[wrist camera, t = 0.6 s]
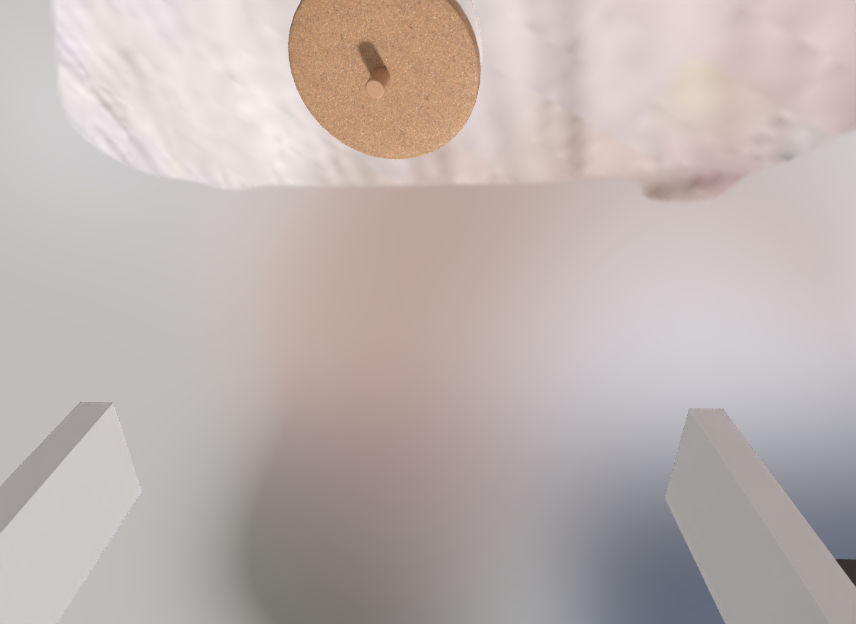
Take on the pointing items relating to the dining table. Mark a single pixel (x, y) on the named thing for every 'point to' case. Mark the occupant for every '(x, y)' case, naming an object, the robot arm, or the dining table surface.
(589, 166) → the dining table surface
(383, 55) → the lidded jar
